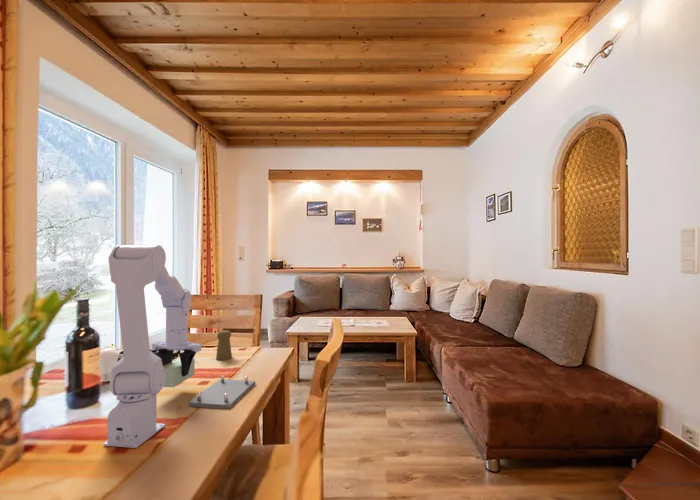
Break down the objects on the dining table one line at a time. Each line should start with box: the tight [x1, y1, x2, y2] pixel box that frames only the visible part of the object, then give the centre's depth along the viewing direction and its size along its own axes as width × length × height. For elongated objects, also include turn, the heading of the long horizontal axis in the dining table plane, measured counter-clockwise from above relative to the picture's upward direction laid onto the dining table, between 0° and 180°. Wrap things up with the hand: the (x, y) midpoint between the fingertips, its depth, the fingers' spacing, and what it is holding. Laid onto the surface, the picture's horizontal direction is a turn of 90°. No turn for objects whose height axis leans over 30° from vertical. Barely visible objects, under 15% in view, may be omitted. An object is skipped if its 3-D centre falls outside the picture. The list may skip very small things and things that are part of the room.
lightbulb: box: [99, 347, 119, 383], centre depth 108 cm, size 6×6×11 cm
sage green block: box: [163, 357, 196, 388], centre depth 99 cm, size 10×5×5 cm, turn 173°
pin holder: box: [187, 374, 256, 410], centre depth 99 cm, size 17×12×3 cm
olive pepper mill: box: [215, 329, 233, 362], centre depth 133 cm, size 6×6×11 cm
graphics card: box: [115, 348, 181, 363], centre depth 133 cm, size 10×3×25 cm
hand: (176, 374), depth 99 cm, fingers closed on sage green block, 5 cm apart
